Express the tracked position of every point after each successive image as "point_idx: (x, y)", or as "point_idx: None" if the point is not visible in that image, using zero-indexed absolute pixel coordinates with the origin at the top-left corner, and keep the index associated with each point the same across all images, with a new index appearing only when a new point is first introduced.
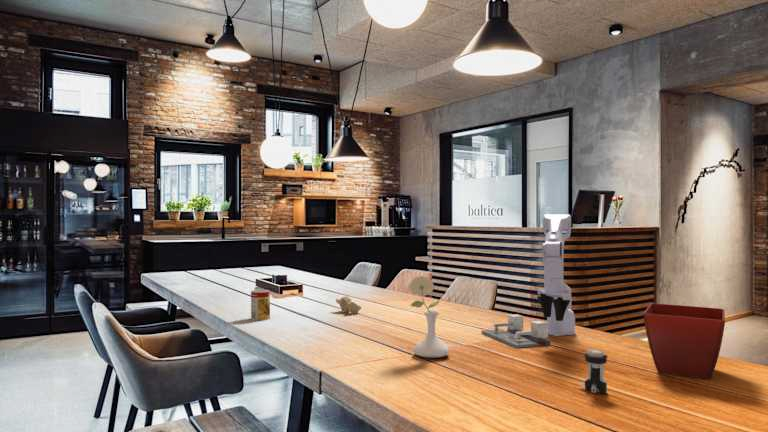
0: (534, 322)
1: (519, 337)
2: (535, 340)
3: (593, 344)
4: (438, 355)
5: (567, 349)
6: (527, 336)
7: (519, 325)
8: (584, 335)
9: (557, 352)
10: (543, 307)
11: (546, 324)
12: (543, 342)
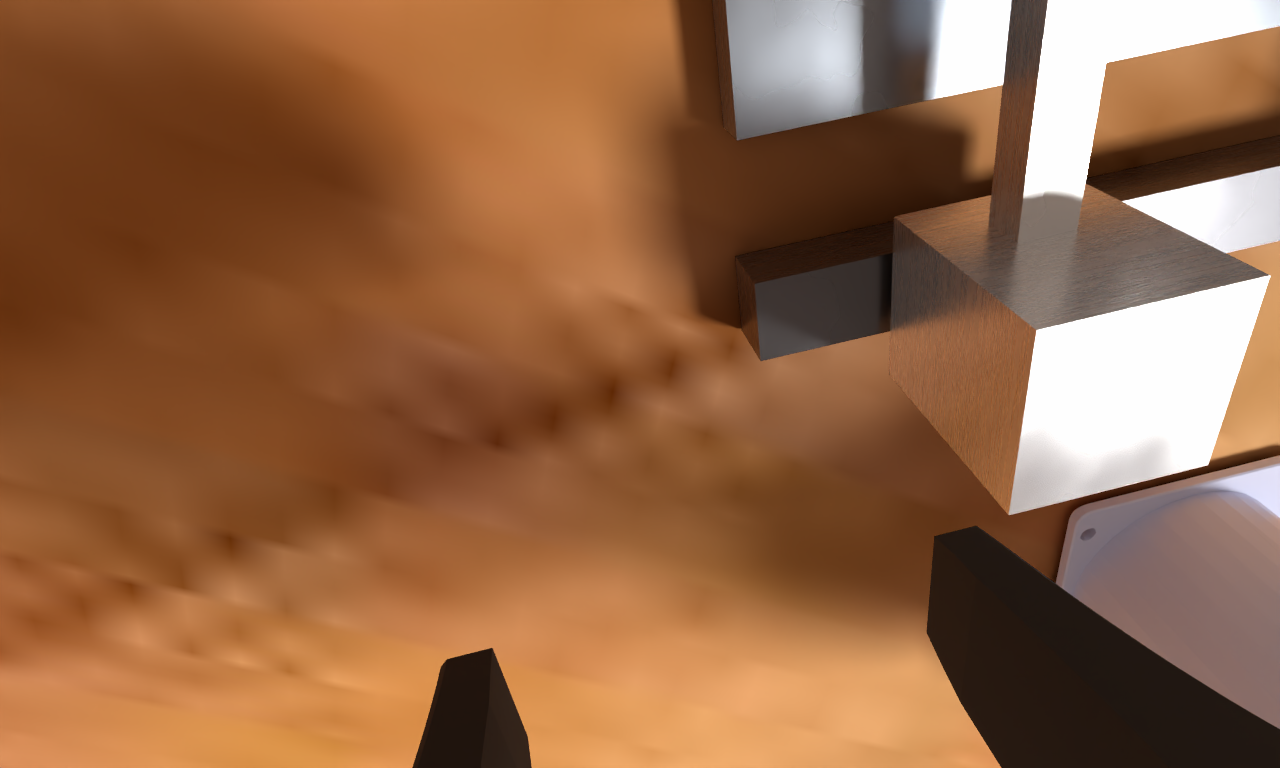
0: (1162, 313)
1: None
2: None
3: (655, 708)
4: None
5: (481, 441)
6: (1183, 171)
7: None
8: None
9: (313, 265)
10: (1125, 730)
11: (996, 479)
12: (793, 258)
